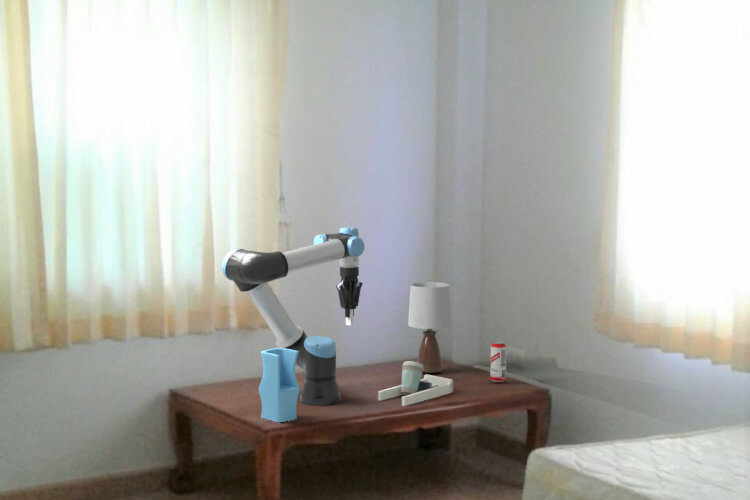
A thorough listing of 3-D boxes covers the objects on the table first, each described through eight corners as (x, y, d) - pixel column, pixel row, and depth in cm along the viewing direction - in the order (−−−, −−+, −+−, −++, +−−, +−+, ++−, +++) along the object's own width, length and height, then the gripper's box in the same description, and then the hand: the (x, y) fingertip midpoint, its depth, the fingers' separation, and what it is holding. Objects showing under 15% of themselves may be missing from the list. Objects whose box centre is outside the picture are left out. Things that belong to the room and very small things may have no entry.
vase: (278, 428, 306) (277, 355, 304) (259, 423, 313) (258, 351, 310) (299, 422, 314) (299, 351, 311) (280, 416, 320) (279, 347, 318)
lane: (404, 407, 333) (404, 393, 332) (378, 400, 341) (378, 387, 341) (452, 392, 354) (453, 379, 353) (427, 386, 363) (427, 374, 362)
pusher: (429, 396, 346) (429, 383, 346) (411, 392, 352) (411, 379, 352) (446, 391, 354) (446, 378, 353) (428, 387, 360) (428, 375, 359)
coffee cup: (393, 392, 347) (398, 363, 352) (412, 399, 350) (418, 369, 355) (403, 389, 340) (408, 358, 345) (423, 395, 343) (428, 365, 347)
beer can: (498, 383, 368) (499, 344, 366) (487, 380, 372) (487, 342, 371) (508, 380, 372) (509, 342, 370) (497, 378, 376) (497, 340, 375)
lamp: (410, 364, 402) (410, 281, 398) (452, 365, 399) (452, 282, 395) (405, 374, 383) (405, 287, 380) (449, 375, 381) (450, 288, 377)
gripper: (344, 268, 353) (344, 328, 355) (367, 265, 363) (367, 324, 365) (331, 267, 358) (331, 326, 360) (353, 264, 368) (354, 321, 370)
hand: (349, 325), depth 363 cm, fingers closed
